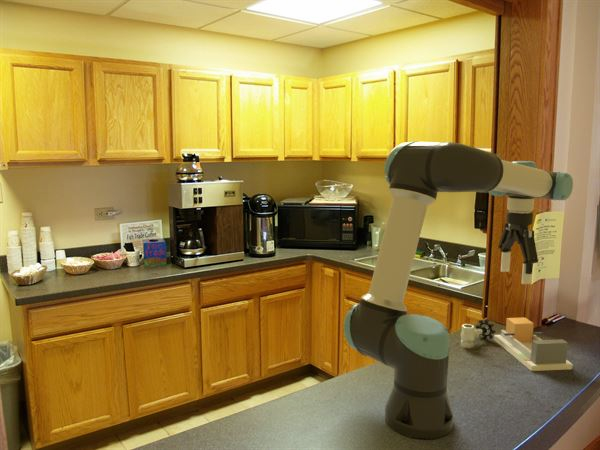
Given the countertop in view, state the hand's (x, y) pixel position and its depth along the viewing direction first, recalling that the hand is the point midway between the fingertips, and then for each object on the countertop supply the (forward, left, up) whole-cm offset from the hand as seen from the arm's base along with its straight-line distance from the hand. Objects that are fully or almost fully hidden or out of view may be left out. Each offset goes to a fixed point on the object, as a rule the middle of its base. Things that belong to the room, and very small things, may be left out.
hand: (515, 277), depth 159 cm
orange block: (-1, -6, -18) cm, 19 cm away
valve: (-14, -4, -20) cm, 25 cm away
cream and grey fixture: (-1, -13, -20) cm, 24 cm away
